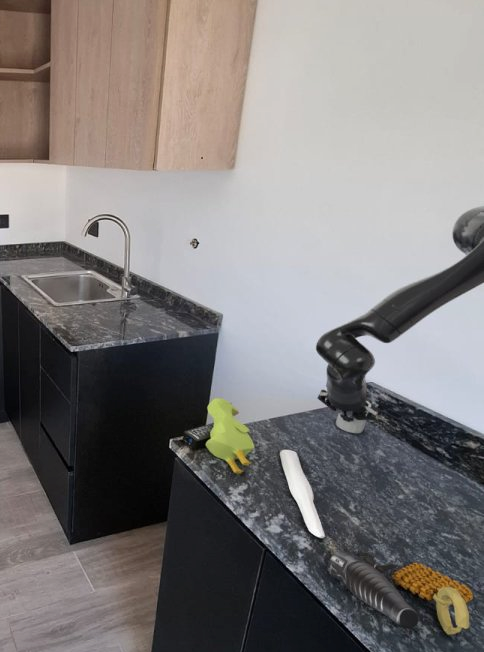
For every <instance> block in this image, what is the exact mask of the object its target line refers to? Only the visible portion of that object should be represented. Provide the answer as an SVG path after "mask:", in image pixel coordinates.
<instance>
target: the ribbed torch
mask: <svg viewBox="0 0 484 652" xmlns="http://www.w3.org/2000/svg"><path fill="white" fill-rule="evenodd" d="M356 554H357V555H356ZM356 554H353V553H352V552H349V551H346V550H336V551H334V552H333V553H332V555H331V557H330V559H329V560H328V562H327V569H328V573H329V575H330V577H333V578H334V579H336V580H338V581H340V582H342V583H343V585H344V586H345V587H346V588H347V589H348V591H350V592H351V593H352V595H353V596H354V597H356V598H357V599H358V600H360V601H362V602H363V603H365V604H366V605H368V606H369V607H371V608H373V609H374V610H376V611H378V612H380V613H381V614H382V615H384V616H385V617H388V618H389V619H390V620H392V621H393V622H394V623H395V624H396V625H398V626H399V627H401V628H403V629H413V628H415V627H417V626H418V624H419V615H418V613H417V611H416V610H415V609H414V608H413V607H412V606H411V605H410V604H408V602H406V601H405V599H404V598H403V596H402V595H401V593H400V592H399V591H398V590H397V589H396V588H395V587H394V585H393V584H392V582H390V580H389V579H388V577H386V576H385V575H384V574H385V572H387V571H390V570H393V569H396V568H397V567H398V566H397V564H394V563H393V564H382V565H378V564H377V563H376V562H375V561H374V559H373V555H372V554H370V553H368V552H364V551H362V550H361V549H360V550H359V549H358V550H357V553H356Z"/></svg>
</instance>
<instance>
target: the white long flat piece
mask: <svg viewBox="0 0 484 652" xmlns="http://www.w3.org/2000/svg"><path fill="white" fill-rule="evenodd" d="M279 456H280V457H279V458H280V461H281V466H282V469H283V473H284V475H285V478H286V481H287V484H288V488H289V491H290V493H291V495H292V497H293V499H294V500H295V501H296V503H297V505H298V508H299V510H300V512H301V515H302V518H303V522H304V523H305V526H306V527H307V530H308V531H309V532H310V533H311V534H312V535H314V536H315V537H316V538H319V539H324V538H325V537H326V534H325V531H324V528H323V525H322V523H321V520H320V517H319V514H318V511H317V508H316V505H315V504H314V499H315V497H314V495H315V494H314V492H313V489H312V486H311V485H310V482H309V480H308V479H307V477H306V475H305V472H304V470H303V468H302V466H301V461H300V459H299V456H298V453H297V452H296V451H294V450H291V449H283V450H281V451H279Z"/></svg>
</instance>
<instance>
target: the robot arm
mask: <svg viewBox="0 0 484 652" xmlns="http://www.w3.org/2000/svg"><path fill="white" fill-rule="evenodd" d="M451 235H452V241H453V243H454V245H455V247H456V248H457V249H458V251H460V252H461V253H463V254H464V255H465V256H464V257H462V258H461V259H459V260H458V261H457V262H455V263H454V264H452V265H450V266H448V267H446V268H444V269H443V270H440V271H438V272H436V273H433V274H432V275H429V276H425V277H424V278H422V279H421V278H420V279H419V280H416V281H413V282H410V283H408V284H406V285H404V286H402V287H400V288H398V289H396V290H394V291H392V292H391V293H390V294H388V295H387V296H386V297H384V298H383V299H381V300H380V301H379V302H377V304H375V305H374V306H373V307H372V308H370V309H369V310H368V311H366V312H365V313H364V314H362V315H359V316H358V317H356V318H354V319H352V320H350V321H348V322H347V323H344V324H341V325H339V326H337V327H334V328H332V329H330V330H328V331H326V332H325V333H323V334H322V335H321V336H320V337H319V339H318V340H317V342H316V344H315V350H316V353H317V355H318V356H320V357H321V358H322V359H323V360H324V362H326V363H327V366H326V383H325V384H326V385H325V386H326V387H325V388H326V389H321V390H320V392H319V393H318V396H317V400H319V402H321V403H322V404H323V405H325V407H328V409H330V410H331V411H333V412H338V414H340V416H341V418H343V420H344V421H347V422H350V421H353V420H354V418H355V419H357V420H366V421H370V420H376V417H377V415H378V413H379V412H380V409H379V408H377V407H372V406H371V407H368V406H369V405H368V403H367V402H366V401H367V391H368V390H367V389H368V388H367V380H366V376H367V374H368V373H370V371H371V370H373V368H374V366H375V364H376V358H375V356H374V354H373V353H372V352H371V350H369V349H368V348H367V347H366V346H365V345H364V344H363V343H361V342H360V341H359V340H358V339H357V338H360V337H366V336H367V337H371V338H373V339H376V340H377V341H378V342H381V343H383V344H390V343H392V342H394V341H396V340H397V339H398V338H400V337H401V336H403V335H404V334H405V333H406V332H408V331H409V330H410V329H412V328H413V327H414V326H416V325H417V324H419V323H420V322H421V321H422V320H423V319H425V318H426V317H428V316H429V315H431V314H432V313H434V312H435V311H437V310H438V309H440V308H442V307H443V306H445V305H446V304H448V303H451V302H452V301H454V300H455V299H457V298H459V297H461V296H463V295H464V294H467V293H468V292H470V291H471V290H473V289H475V288H477V287H479V286H481V285H483V284H484V205H481V206H476V207H472V208H470V209H468V210H466V211H464V212H463V213H461V215H459V216H458V218H457V219H456V220H455V222H454V225H453V227H452V234H451Z"/></svg>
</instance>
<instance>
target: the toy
mask: <svg viewBox="0 0 484 652" xmlns="http://www.w3.org/2000/svg"><path fill="white" fill-rule="evenodd" d="M206 408H207V411H208V414H209V415H210V416H211V417H212V419H213V423H214V426H213V429H212V430H211V432H210V436H211V439H209V440H208V441H207V443H206V446H205V447H206V448H207V450H208V451H209V452H210V453H211V454H212V455H213V456H214V457H216V458H219V459H221V460H224V461H225V462H226V463H227V464H228V465H229V466H230V468H231V470H232V471H233V473H234V474H239V475H240V474H242V473H243V472H244V470H242V469H241V468H240V467H239V466H238V465H237V463H236V461H235V460H239V461H240V463H241V465H242V466H250V464H252V462H250V461H249V460H248V459H247V458H246V457H247V455H248V454H250V453H251V452H252V451H253V450H254V449H255V444H254V442H253V440H252V438H251V436H250V434H249V432H250V429H249V428H248V427H247V426H246V425H245V424H244V423H242V422H240V421H238V420H237V419H236V418H235V416H237V415H238V414H239V413H240V412H239V410H238V408H236V407H235V406H234V405H233V404H232V402H230V401H229V400H227V399H224V398H222V397H221V398H220V397H216V398H213V399H212V400H211V401H210V402H209V403H208V405H207V407H206Z"/></svg>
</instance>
